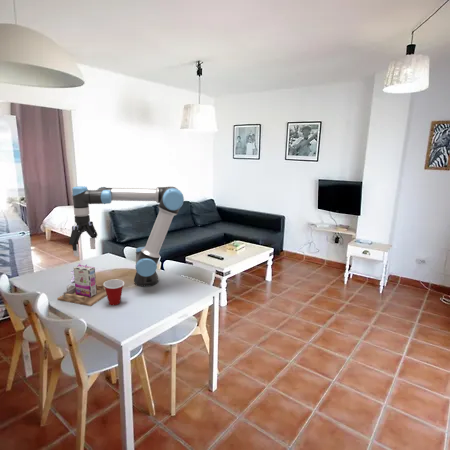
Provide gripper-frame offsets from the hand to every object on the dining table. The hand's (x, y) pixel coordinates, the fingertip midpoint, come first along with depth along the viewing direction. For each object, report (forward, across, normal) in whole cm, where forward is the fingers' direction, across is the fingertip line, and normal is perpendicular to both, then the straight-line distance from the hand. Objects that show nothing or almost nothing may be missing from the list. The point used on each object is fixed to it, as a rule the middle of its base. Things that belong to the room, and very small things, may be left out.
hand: (85, 252), depth 177 cm
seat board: (+26, +2, -1) cm, 26 cm away
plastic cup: (+26, +4, +20) cm, 33 cm away
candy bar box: (+25, +2, 0) cm, 25 cm away
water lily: (+26, -16, -20) cm, 36 cm away
